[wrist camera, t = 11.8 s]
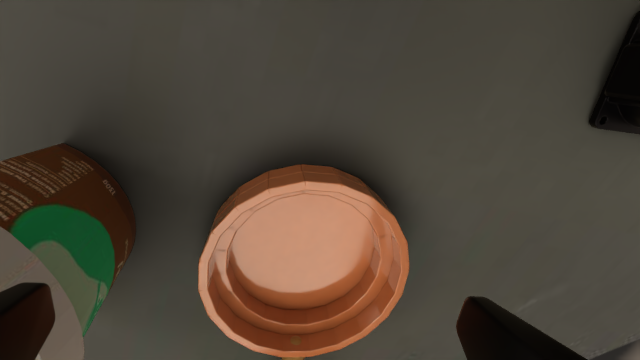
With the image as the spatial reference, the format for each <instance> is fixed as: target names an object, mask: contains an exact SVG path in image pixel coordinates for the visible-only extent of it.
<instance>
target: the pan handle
mask: <svg viewBox="0 0 640 360" xmlns="http://www.w3.org/2000/svg"><path fill="white" fill-rule="evenodd" d="M290 342H291V343H292V344H293V345H299V344H300V343H301V342H302V340H301V338H300V337H299V336H293V337H291V339H290ZM282 360H304V357H282Z"/></svg>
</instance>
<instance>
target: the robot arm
mask: <svg viewBox="0 0 640 360" xmlns="http://www.w3.org/2000/svg"><path fill="white" fill-rule="evenodd" d="M600 119H601V120H600ZM590 125H591V126H592V127H595V128H599V129H606V130H614V131H621V132H628V133H635V134H640V11H639V12H638V13H637V14H636V15H635V17H634V18H633V21H632V23H631V25H630V28H629V30H628V32H627V35H626V37H625V39H624V41H623V44H622V46H621V48H620V51H619V53H618V55H617V58H616V60H615V62H614V65H613V67H612V69H611V72H610V74H609V76H608V78H607V81H606V83H605V85H604V88H603V90H602V92H601V95H600V97H599V99H598V102H597V104H596V106H595V108H594V111H593V113H592V115H591V118H590ZM54 323H55V310H54V304H53V299H52V294H51V289H50V287H49V285H48V284H46V283H35V282H24V283H19V284H17V285H15V286H13V287H10V288H8V289H6V290H4V291H1V292H0V360H35V359H36V357H37V355H38V354H39V352H40V350H41V348H42V346H43V345H44V343H45V341H46V339H47V337H48V336H49V334H50V332H51V330H52V328H53V326H54ZM456 329H457V333H458V336H459V339H460V342H461V344H462V347H463V350H464V352H465V355H466V357H467V360H587V359H586V358H584V357H582V356H581V355H579V354H577V353H576V352H574V351H573V350H571V349H569V348H568V347H566V346H564V345H563V344H561V343H559V342H558V341H556V340H555V339H553V338H551V337H550V336H548V335H546V334H545V333H543V332H541V331H540V330H538V329H537V328H535V327H533V326H532V325H530V324H528V323H527V322H525V321H523V320H522V319H520V318H519V317H517V316H515V315H514V314H512V313H510V312H509V311H507V310H505V309H504V308H502V307H501V306H499V305H497V304H496V303H494V302H492V301H491V300H489V299H487V298H485V297H475V296H470V297H467V298H466V299H465V301H464V304H463V306H462V309H461V312H460V314H459V317H458V320H457V324H456Z"/></svg>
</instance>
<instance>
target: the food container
mask: <svg viewBox="0 0 640 360" xmlns="http://www.w3.org/2000/svg"><path fill="white" fill-rule="evenodd" d="M135 234H136V225H135V217H134V213H133V210H132V207H131V204H130V202H129V200H128V198H127V196H126V194H125V193H124V191H123V190H122V188H121V187H120V185H119V184H118V183H117V182H116V180H115V179H114V178H113V177H112V176H111V175H110V174H109V173H108V172H107V171H106V170H105V169H104V168H103V167H101V166H100V165H99V164H98V163H97V162H95V161H94V160H93V159H91V158H90V157H88V156H86V155H85V154H83V153H82V152H80V151H78V150H76V149H74V148H72V147H70V146H68V145H66V144H64V143H61V144H58V145H54V146H51V147H47V148H44V149H41V150H37V151H34V152H30V153H27V154H24V155H20V156H17V157H13V158H10V159H7V160H3V161H0V292H1V291H4V290H6V289H8V288H10V287H13V286H15V285H17V284H19V283H24V282H35V283H46V284H48V285H49V287H50V289H51V294H52V299H53V304H54V310H55V323H54V326H53V328H52V330H51V332H50V334H49V336H48V337H47V339H46V341H45V343H44V345H43V346H42V348H41V350H40V352H39V354H38V355H37V357H36V359H35V360H84V343H83V337H84V335H85V333H86V332H87V330H88V328H89V326H90V324H91V323H92V321H93V319H94V317H95V315H96V314H97V312H98V310H99V308H100V307H101V305H102V303H103V301H104V299H105V298H106V296H107V294H108V292H109V290H110V289H111V287H112V285H113V283H114V281H115V280H116V278H117V276H118V274H119V273H120V271H121V269H122V267H123V265H124V264H125V262H126V260H127V258H128V256H129V255H130V253H131V251H132V248H133V245H134V242H135Z"/></svg>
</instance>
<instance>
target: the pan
mask: <svg viewBox="0 0 640 360" xmlns="http://www.w3.org/2000/svg"><path fill="white" fill-rule="evenodd" d="M408 273H409V256H408V243H407V240H406V238H405V236H404V234H403V232H402V230H401V228H400V226H399V224H398V222H397V220H396V218H395V216H394V215H393V214H392V212H391V211H390V210H389V208H388V207H387V206H386V205H385V203H384V202H383V201H382V199H381V198H380V197H379V196H378V195H377V194H376V193H375V192H374V191H373V190H372V189H371V188H370V187H368V186H367V185H366V184H365V183H364V182H363V181H362V180H361V179H359V178H357V177H355V176H352V175H350V174H348V173H345V172H343V171H341V170H338V169H336V168H334V167H333V168H332V167H326V166H315V165H305V164H301V165H294V166H290V167H285V168H280V169H275V170H270V171H269V172H268V171H267V172H265V173H264V174H262V175H260V176H258V177H256V178H254V179H253V180H251V181H249V182H247V183H245V184H244V185H242V186H241V187H239V188H238V189H237V190H236V191H235V192H234V193H233V194H232V195H231V196H230V197H229V199H228V200H227V201H226V202H225V203H224V204H223V205H222V206H221V207H220V208H219V210H218V212H217V214H216V217H215V219H214V221H213V224H212V226H211V228H210V231H209V233H208V236H207V239H206V241H205V244H204V247H203V250H202V253H201V256H200V258H199V263H198V291H199V294H200V296H201V299H202V301H203V304H204V306H205V309H206V311H207V314H208V316H209V318H210V319H211V320H212V321H213V322H214V323H215V324H216V325H217V326H218V327H219V328H220V329H221V330H222V332H223V333H224V334H225V335H226V336H228V337H229V338H230V339H232V340H234V341H236V342H238V343H239V344H241V345H243V346H245V347H247V348H248V349H250V350H253V351H256V352H260V353H265V354H269V355H273V356H277V357H310V356H311V357H312V356H316V355H320V354H324V353H328V352H332V351H336V350H339V349H342V348H344V347H346V346H348V345H350V344H352V343H354V342H355V341H357V340H359V339H361V338H363V337H365V336H366V335H368V334H369V333H370V332H371V331H372V330H373V329H375V328H376V327H377V326H378V325H379V324H380V323H381V322H383V321H384V320H385V319H386V317H388V315H389V314H390V312H391V311H392V309H393V308H394V306H395V305H396V303H397V302H398V300H399V299H400V297H401V296H402V294H403V290H404V287H405V283H406V280H407V276H408ZM293 336H299V337H300V338H301V340H302V342H301V343H300V344H299V345H293V344H292V343H291V342H290V339H291V337H293Z"/></svg>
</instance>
